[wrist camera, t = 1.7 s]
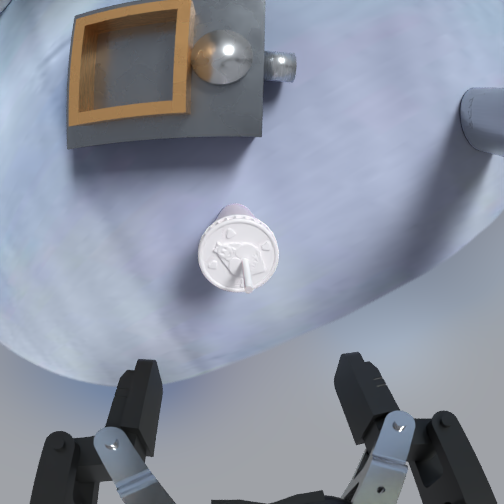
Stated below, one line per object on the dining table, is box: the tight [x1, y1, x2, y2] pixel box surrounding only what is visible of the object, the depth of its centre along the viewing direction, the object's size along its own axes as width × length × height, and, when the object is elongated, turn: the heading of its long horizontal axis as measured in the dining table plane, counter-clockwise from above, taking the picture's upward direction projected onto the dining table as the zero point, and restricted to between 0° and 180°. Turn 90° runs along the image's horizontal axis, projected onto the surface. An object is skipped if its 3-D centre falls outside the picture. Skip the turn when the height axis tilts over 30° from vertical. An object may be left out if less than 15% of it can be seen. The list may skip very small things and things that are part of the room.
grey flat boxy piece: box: [67, 0, 296, 149], centre depth 21 cm, size 21×14×8 cm, turn 89°
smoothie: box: [198, 203, 279, 294], centre depth 25 cm, size 6×6×14 cm
